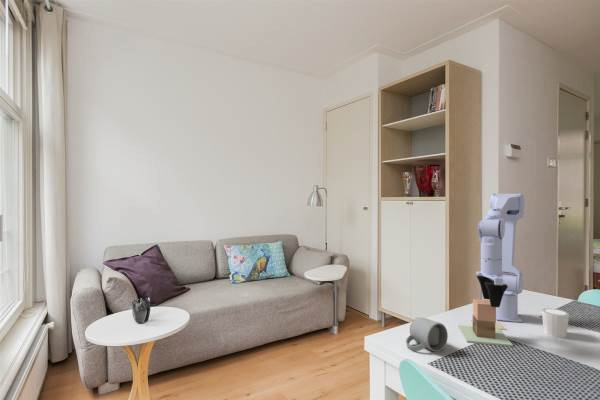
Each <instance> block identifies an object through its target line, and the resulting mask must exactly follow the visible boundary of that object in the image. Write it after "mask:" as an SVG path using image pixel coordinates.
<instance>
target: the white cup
mask: <svg viewBox="0 0 600 400" xmlns="http://www.w3.org/2000/svg"><path fill="white" fill-rule="evenodd" d="M541 316H542V325H543V332H544V334H545V335H547V336H550V337H554V338H559V339H565V338H567V335H568V329H569V328H568V327H569V319H570V313H569V312H567V311H565V310H561V309H556V308H548V307H547V308H542V309H541Z"/></svg>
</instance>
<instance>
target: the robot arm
mask: <svg viewBox="0 0 600 400" xmlns="http://www.w3.org/2000/svg"><path fill="white" fill-rule="evenodd" d="M489 205H490V206H489V207H490V209H489V210H488V212H487V213H486V215H485V217H484V218H482V219H481V220H479V221H478V223H477V232H478V233H477V234H478V242H479V243H480V271H476V272H475V273H476V278H477V280H478V282H479V285H480V288H481V293H482V298H483V300H490V304H491V307H496V321H500V322H501V321H502V322H503V321H504V322H512V323H513V322H515V323H522V322H523V320H522V319H521V318H520V317H519V316H518V312H519V311H518V305H519V304H518V303H519V302H518V301H519V299H518V297H519V295H520V294H522V293H523V290H524V289H523V288H524V280H523V279H524V278H523V272H522V270H520V269H519V268H518V267H517V266H515V244H516V230H517V229H516V228H517V227H516V226H517V223H518V220H520V219H522V218H523V217H524V214H525V195H524V194H523V193H522V192H520V193H492V194H491V195H490V199H489Z"/></svg>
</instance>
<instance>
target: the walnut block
mask: <svg viewBox="0 0 600 400" xmlns="http://www.w3.org/2000/svg"><path fill="white" fill-rule="evenodd" d="M472 320H473V323H472V327H473V332H474V333H475V335H476V336H477V337H484V338H495V322H491V321H478V320H477V319H476V318H475V316H474V315H473V314H472Z"/></svg>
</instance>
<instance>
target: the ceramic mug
mask: <svg viewBox="0 0 600 400" xmlns="http://www.w3.org/2000/svg"><path fill="white" fill-rule="evenodd" d="M409 333H410V334H409V336H408V337H406V338H405V343H406V347H407V348H408V349H409V350H410V351H412V352H419V351H422V350H423V349H426V348H427V349H428V350H430V351H432V352H435V353H436V352H440V351H442V350H443V349H444V348H445V346H446V345H447V342H448V337H449V336H448V334H449V333H448V330H447V328H446V326H445V325H444V324H443V323H441V322H439V321H435V320H432V319H429V318H426V317H416V318H414V319H413V321H411V324H410V327H409ZM412 341H414V342H416V343H418V344H417V345H411V344H410V342H412Z"/></svg>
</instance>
